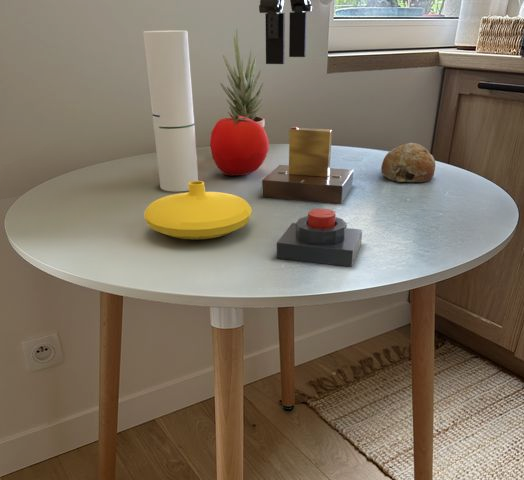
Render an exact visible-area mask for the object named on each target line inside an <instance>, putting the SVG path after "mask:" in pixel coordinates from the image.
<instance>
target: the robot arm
mask: <svg viewBox="0 0 524 480" xmlns="http://www.w3.org/2000/svg"><path fill="white" fill-rule="evenodd" d="M284 3H285V0H259V5H258V11H259V14H265V64H266V65H284V64H285V45H286V44H285V41H286V40H285V36H286V35H285V32H286V28H285V27H286V13H285V12H283V10H284V5H285V4H284ZM289 3H290V8H291V11H289V26H288V28H289V29H288V30H289V32H288V33H289V34H288V35H289V36H288V37H289V39H288V43H289V44H288V57H289V58H306V56H307V55H306V51H307V16H308V15H307V13H309V12H312V9H313V4H311V0H289Z"/></svg>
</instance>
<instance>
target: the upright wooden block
mask: <svg viewBox="0 0 524 480" xmlns="http://www.w3.org/2000/svg"><path fill="white" fill-rule="evenodd" d="M332 136H333V129H329V128H312V127H311V128H310V127H309V128H308V127H307V128H306V127H299V126H298V125H297V126H295V125H294V126H293V125H292V126H291V127H290V129H289V135H288V138H289V139H288V140H289V141H288V165H289V174H293V175H307V176H321V177H328V176H329V174H330V168H331V157H332V156H331V153H332Z"/></svg>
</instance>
